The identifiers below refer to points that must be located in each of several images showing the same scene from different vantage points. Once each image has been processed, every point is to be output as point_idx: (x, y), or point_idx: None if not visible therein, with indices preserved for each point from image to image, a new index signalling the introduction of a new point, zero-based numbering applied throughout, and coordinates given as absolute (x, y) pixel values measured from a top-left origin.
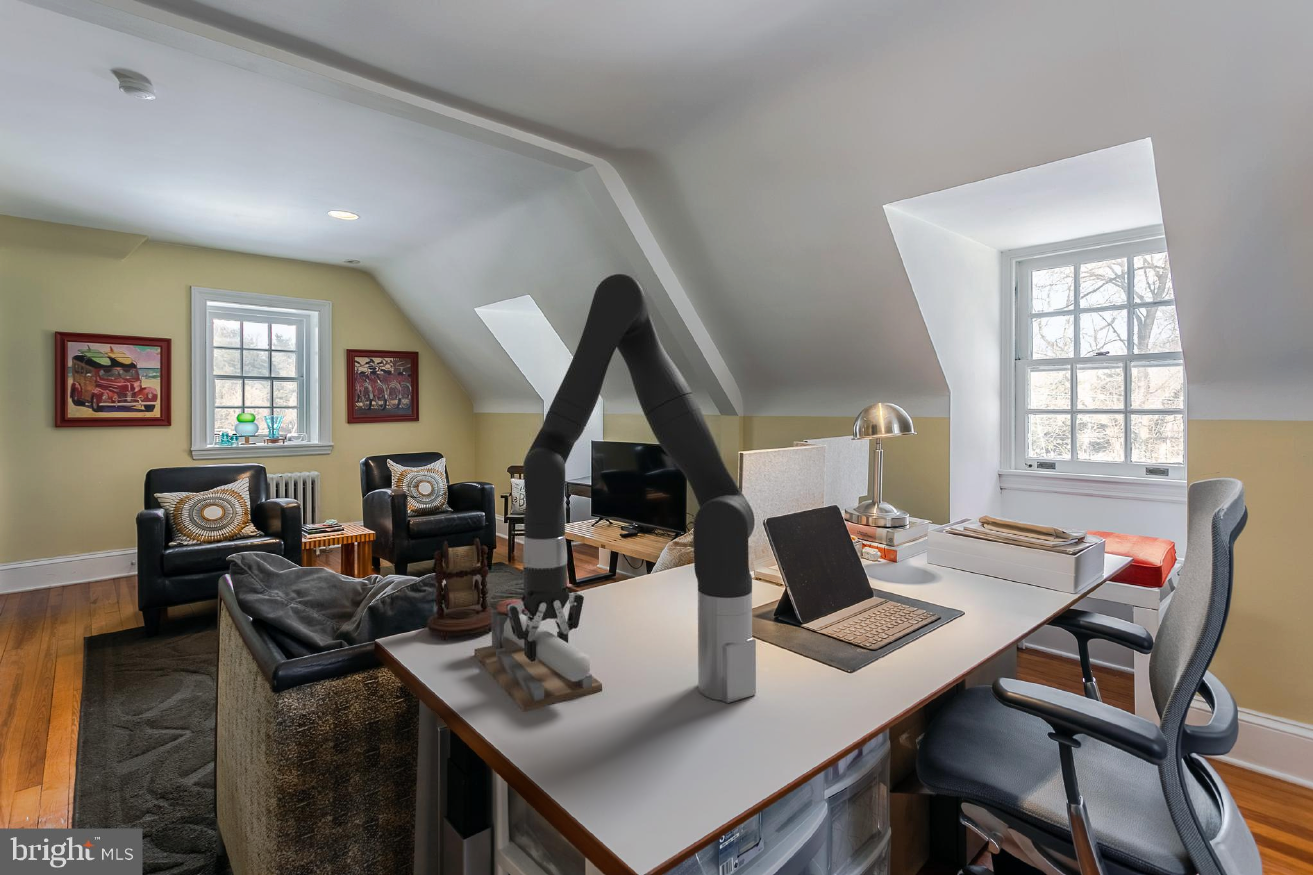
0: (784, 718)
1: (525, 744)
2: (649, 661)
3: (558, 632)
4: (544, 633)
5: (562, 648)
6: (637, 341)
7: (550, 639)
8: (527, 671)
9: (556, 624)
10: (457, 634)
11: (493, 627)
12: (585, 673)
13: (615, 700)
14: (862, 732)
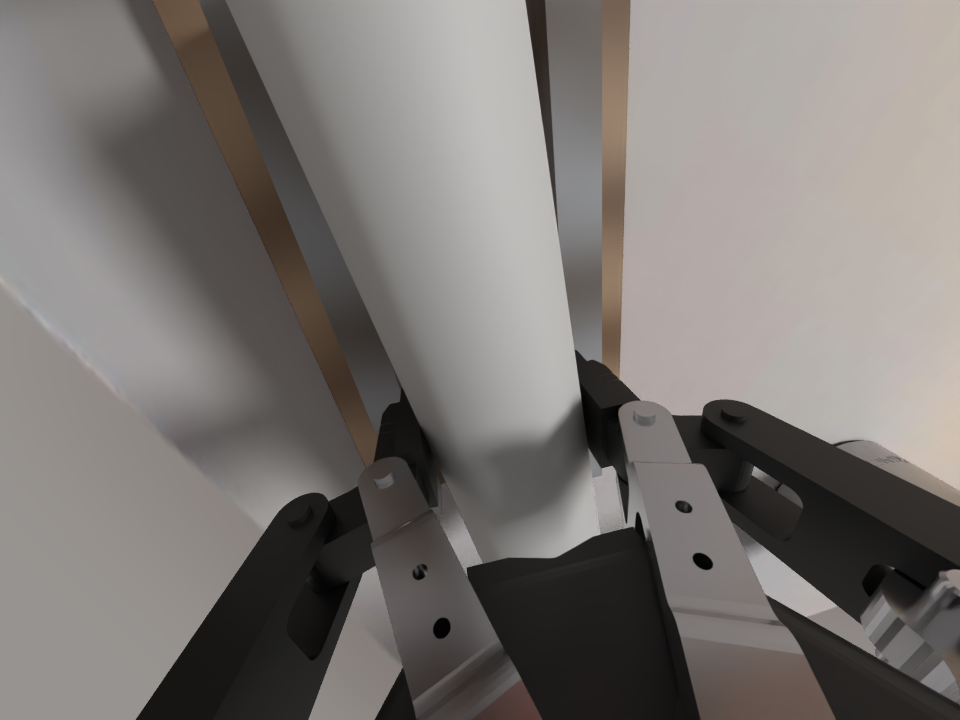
0: (796, 573)
1: (378, 586)
2: (845, 278)
3: (603, 423)
4: (509, 469)
5: None
6: None
7: (516, 543)
8: (399, 399)
9: (624, 443)
10: None
11: None
12: None
13: (609, 478)
14: (830, 607)
